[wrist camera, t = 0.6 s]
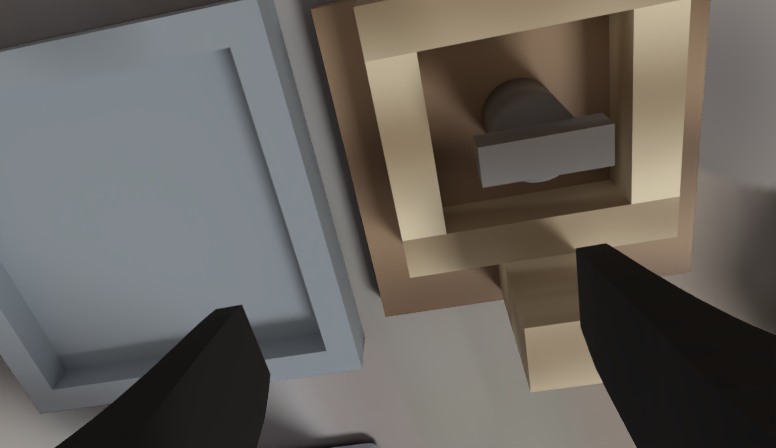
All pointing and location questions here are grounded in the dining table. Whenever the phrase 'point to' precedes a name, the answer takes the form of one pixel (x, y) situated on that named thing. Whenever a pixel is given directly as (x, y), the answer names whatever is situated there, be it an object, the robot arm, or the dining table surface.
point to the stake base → (499, 137)
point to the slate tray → (162, 204)
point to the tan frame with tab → (544, 208)
